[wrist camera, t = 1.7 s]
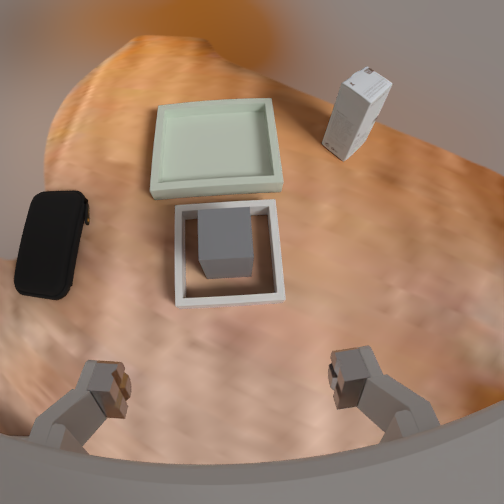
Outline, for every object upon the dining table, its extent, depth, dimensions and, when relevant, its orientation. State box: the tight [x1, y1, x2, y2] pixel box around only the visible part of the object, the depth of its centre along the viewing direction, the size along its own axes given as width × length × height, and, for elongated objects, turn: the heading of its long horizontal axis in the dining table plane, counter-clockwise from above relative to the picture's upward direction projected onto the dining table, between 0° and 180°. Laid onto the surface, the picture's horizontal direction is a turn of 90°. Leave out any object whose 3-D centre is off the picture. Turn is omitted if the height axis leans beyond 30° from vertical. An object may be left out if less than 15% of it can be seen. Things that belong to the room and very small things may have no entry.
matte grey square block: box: [198, 207, 254, 279], centre depth 34 cm, size 5×5×8 cm
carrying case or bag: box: [14, 191, 89, 300], centre depth 37 cm, size 11×3×15 cm
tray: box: [150, 98, 283, 200], centre depth 41 cm, size 16×14×2 cm
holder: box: [175, 199, 285, 309], centre depth 37 cm, size 12×12×2 cm
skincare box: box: [322, 66, 392, 161], centre depth 38 cm, size 6×4×12 cm
